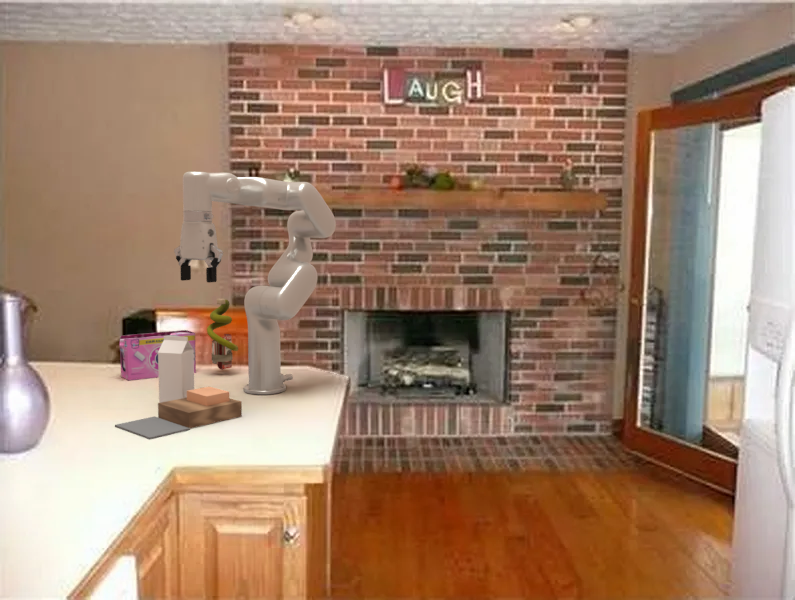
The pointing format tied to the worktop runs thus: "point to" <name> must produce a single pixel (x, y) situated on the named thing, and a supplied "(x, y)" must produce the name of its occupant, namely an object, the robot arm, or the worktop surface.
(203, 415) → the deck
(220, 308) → the prank snake can
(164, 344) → the milk carton
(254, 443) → the worktop surface
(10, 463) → the worktop surface
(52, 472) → the worktop surface
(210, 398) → the peach flat block
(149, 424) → the mat
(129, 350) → the gum box
